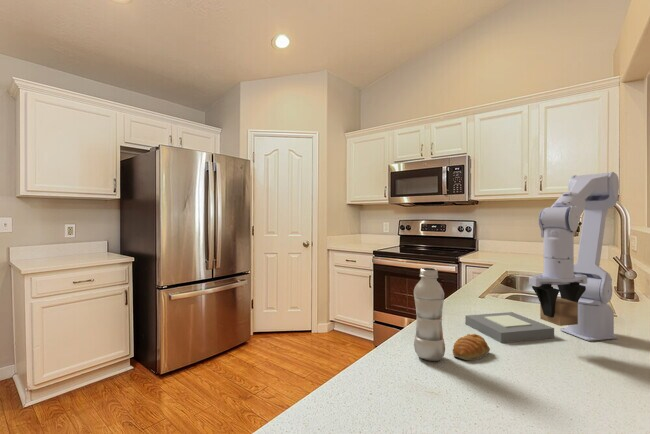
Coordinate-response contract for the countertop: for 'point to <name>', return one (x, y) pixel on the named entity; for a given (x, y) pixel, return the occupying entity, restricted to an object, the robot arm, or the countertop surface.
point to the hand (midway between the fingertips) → (558, 315)
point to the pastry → (470, 347)
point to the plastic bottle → (429, 316)
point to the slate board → (509, 327)
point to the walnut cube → (563, 313)
